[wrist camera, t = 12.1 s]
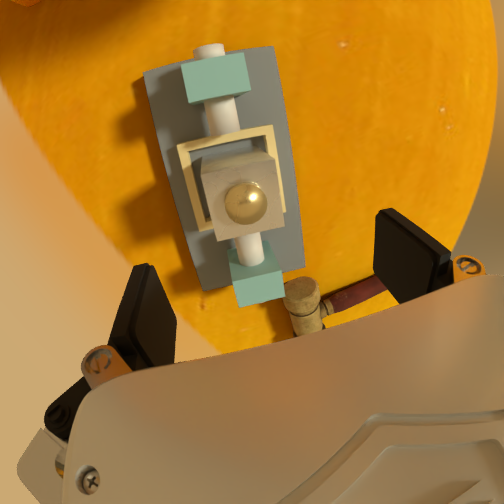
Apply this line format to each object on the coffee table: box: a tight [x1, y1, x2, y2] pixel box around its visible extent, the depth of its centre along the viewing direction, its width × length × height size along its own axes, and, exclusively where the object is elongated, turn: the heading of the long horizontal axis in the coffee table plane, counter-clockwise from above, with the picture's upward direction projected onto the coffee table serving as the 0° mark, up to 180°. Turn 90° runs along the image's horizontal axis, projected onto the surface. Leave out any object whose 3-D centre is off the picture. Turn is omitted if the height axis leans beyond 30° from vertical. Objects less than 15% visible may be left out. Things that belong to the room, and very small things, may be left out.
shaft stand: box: [143, 44, 305, 308], centre depth 24 cm, size 24×12×8 cm, turn 10°
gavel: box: [282, 275, 387, 338], centre depth 36 cm, size 21×5×10 cm
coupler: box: [201, 145, 285, 242], centre depth 22 cm, size 5×5×9 cm
